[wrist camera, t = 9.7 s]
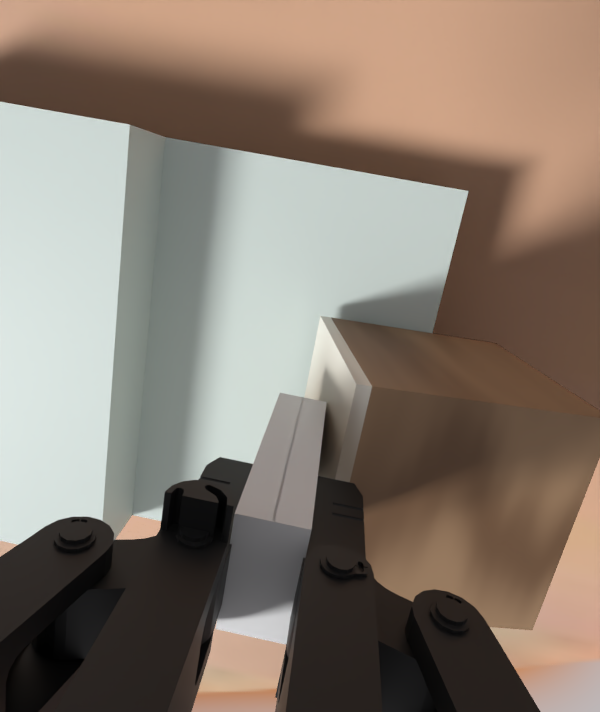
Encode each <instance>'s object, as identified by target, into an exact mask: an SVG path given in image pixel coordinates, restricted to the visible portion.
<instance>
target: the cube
mask: <svg viewBox="0 0 600 712" xmlns="http://www.w3.org/2000/svg"><path fill="white" fill-rule="evenodd" d="M304 398H309V399H314V400H319V401H324V402H326V411H325V419H324V428H323V436H322V445H321V453H320V462H319V470H318V476H321V477H326V478H331V479H335V480H340V481H345V482H350V483H354V484H355V485H356V487H357V488H358V490H359V491H360V493H361V494H362V495H363V511H364V531H365V553H366V560H367V561H368V562H369V563H370V565H371V567H372V570H373V573H374V578H375V579H376V580H377V582H378V583H380V584H381V585H382V586H384V587H385V588H386V589H388V590H390V591H391V592H393V593H395V594H397V595H399V596H401V597H403V598H406V599H408V600H410V601H412V602H413V601H414V598H415V596H416V595H418V594H419V593H421V592H422V591H426V590H433V589H436V590H441V591H447V592H450V593H452V594H455V595H457V596H459V597H461V598H463V599H465V600H466V601H467V602H469V603H470V604H471V605H473V606H474V607H475V608H476V609H477V610H478V612H479V613H480V614H481V615H482V616H483V618H484V619H485V621H486V622H487V624H488V626H489V627H498V628H511V629H525V630H533V627H534V624H535V622H536V619H537V617H538V614H539V612H540V609H541V606H542V604H543V601H544V599H545V596H546V594H547V591H548V588H549V586H550V583H551V581H552V578H553V576H554V573H555V571H556V568H557V565H558V563H559V560H560V558H561V555H562V553H563V550H564V547H565V545H566V542H567V540H568V537H569V535H570V532H571V529H572V527H573V524H574V522H575V519H576V517H577V514H578V512H579V509H580V506H581V504H582V501H583V499H584V496H585V494H586V491H587V488H588V486H589V483H590V481H591V478H592V476H593V473H594V471H595V468H596V465H597V463H598V460H599V458H600V410H598V409H597V408H595V407H593V406H592V405H590V404H589V403H587V402H586V401H584V400H583V399H581V398H580V397H578V396H577V395H575V394H573V393H572V392H570V391H569V390H567V389H566V388H564V387H563V386H561V385H560V384H558V383H556V382H555V381H553V380H552V379H550V378H549V377H547V376H546V375H544V374H543V373H541V372H539V371H538V370H536V369H535V368H533V367H532V366H530V365H529V364H527V363H526V362H524V361H523V360H521V359H519V358H518V357H516V356H515V355H513V354H512V353H510V352H509V351H507V350H506V349H504V348H502V347H501V346H499V345H498V344H496V343H492V342H485V341H479V340H472V339H466V338H460V337H453V336H447V335H440V334H434V333H428V332H421V331H415V330H408V329H402V328H396V327H389V326H383V325H376V324H370V323H363V322H357V321H351V320H344V319H338V318H331V317H325V316H320V320H319V325H318V330H317V335H316V340H315V345H314V350H313V355H312V361H311V366H310V371H309V376H308V381H307V386H306V391H305V396H304Z"/></svg>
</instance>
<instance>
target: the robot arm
mask: <svg viewBox="0 0 600 712" xmlns="http://www.w3.org/2000/svg"><path fill="white" fill-rule="evenodd" d="M325 411H326V402H324V401H319V400H314V399H309V398H304V397H299V396H294V395H289V394H284V393H280V394H279V396H278V399H277V402H276V404H275V407H274V410H273V412H272V415H271V418H270V420H269V423H268V426H267V428H266V431H265V434H264V436H263V439H262V442H261V444H260V447H259V450H258V452H257V455H256V458H255V460H254V463H253V464H251V463H246V462H242V461H237V460H232V459H227V458H222V457H219V458H217V459H216V460H214V461H212V462H211V463H209V464H207V465H206V467H205V469H204V470H203V472H202V474H201V476H200V478H199V480H189V481H182V482H179V483H177V484H174V485H172V486H171V487H170V488H168V489H167V490H166V491H165V494H164V503H163V511H162V520H161V528H160V531H159V532H158V534H157V536H154V537H150V538H146V539H135V540H114V532H113V530H112V529H111V527H110V525H108V524H106V523H105V522H103V521H102V520H100V519H96V518H91V517H69V518H64V519H60V520H57V521H55V522H53V523H51V524H49V525H47V526H45V527H44V528H42V529H41V530H39V531H38V532H36V533H35V534H33V535H32V536H30V537H29V538H28V539H26V540H25V541H23V542H22V543H20V544H19V545H17V546H16V547H14V548H13V549H11V550H10V551H8V552H7V553H5V554H4V555H3V556H1V557H0V712H191V711H192V708H193V705H194V701H195V698H196V695H197V692H198V689H199V685H200V682H201V679H202V676H203V673H204V669H205V666H206V663H207V660H208V656H209V653H210V649H211V643H212V637H213V631H214V628H215V624H216V621H217V624H216V629H218V630H223V631H227V632H232V633H236V634H241V635H245V636H250V637H254V638H259V639H263V640H268V641H272V642H277V643H281V644H286V650H285V655H284V660H283V664H282V669H281V674H280V678H279V683H278V687H277V692H276V698H277V704H276V711H275V712H540V710H539V709H538V707H537V705H536V704H535V702H534V700H533V699H532V697H531V696H530V694H529V692H528V690H527V689H526V687H525V686H524V684H523V682H522V681H521V679H520V678H519V675H518V674H517V672H516V670H515V669H514V667H513V665H512V664H511V662H510V660H509V659H508V657H507V656H506V654H505V652H504V651H503V649H502V647H501V646H500V644H499V642H498V641H497V639H496V637H495V636H494V634H493V632H492V631H491V629H490V627H489V626H488V624H487V622H486V621H485V619H484V618H483V616H482V615H481V614H480V613H479V612H478V610H477V609H476V608H475V607H474V606H473V605H471V604H470V603H469V602H467V601H466V600H465V599H463V598H461V597H459V596H457V595H455V594H452V593H450V592H447V591H441V590H436V589H433V590H426V591H422V592H421V593H419V594H418V595H416V596H415V598H414V601H413V602H412V601H410V600H408V599H406V598H403V597H401V596H399V595H397V594H395V593H393V592H391V591H390V590H388V589H386V588H385V587H384V586H382V585H381V584H380V583H378V582H377V580H376V579H375V578H374V573H373V570H372V567H371V565H370V563H369V562H368V561H367V560H366V553H365V531H364V511H363V495H362V494H361V493H360V491H359V490H358V488H357V487H356V485H355V484H354V483H350V482H345V481H340V480H335V479H331V478H326V477H321V476H318V470H319V462H320V453H321V445H322V436H323V428H324V419H325Z"/></svg>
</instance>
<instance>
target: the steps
mask: <svg viewBox="0 0 600 712" xmlns="http://www.w3.org/2000/svg"><path fill="white" fill-rule="evenodd" d="M467 195H468V191H466V190H460V189H454V188H449V187H443V186H437V185H432V184H426V183H421V182H415V181H409V180H404V179H398V178H392V177H387V176H381V175H376V174H370V173H364V172H359V171H353V170H347V169H342V168H336V167H330V166H325V165H319V164H314V163H308V162H302V161H297V160H291V159H285V158H280V157H274V156H269V155H263V154H257V153H252V152H246V151H240V150H235V149H229V148H223V147H218V146H212V145H207V144H201V143H195V142H190V141H184V140H178V139H173V138H167V137H164V136H161V135H158V134H155V133H152V132H149V131H147V130H144V129H141V128H138V127H135V126H132V125H129V124H124V123H118V122H112V121H107V120H101V119H95V118H90V117H84V116H78V115H73V114H67V113H61V112H56V111H50V110H44V109H39V108H33V107H28V106H22V105H16V104H11V103H5V102H0V541H4V542H9V543H14V544H20V543H22V542H23V541H25V540H26V539H28V538H29V537H30V536H32V535H33V534H35V533H36V532H38V531H39V530H41V529H42V528H44V527H45V526H47V525H49V524H51V523H53V522H55V521H57V520H60V519H64V518H69V517H91V518H96V519H100V520H102V521H103V522H105V523H106V524H108V525H110V527H111V529H112V530H113V532H114V540H115V539H116V537H117V536H118V535H119V533H120V532H121V530H122V529H123V527H124V526H125V525H126V523H127V522H128V520H129V519H130V517H131V516H132V515H135V516H140V517H144V518H149V519H154V520H159V521H161V520H162V511H163V503H164V494H165V491H166V490H167V489H168V488H170V487H171V486H172V485H174V484H177V483H179V482H182V481H189V480H199V478H200V476H201V474H202V472H203V470H204V469H205V467H206V465H207V464H209V463H211V462H212V461H214V460H216V459H217V458H219V457H222V458H227V459H232V460H237V461H242V462H246V463H251V464H253V463H254V460H255V458H256V455H257V452H258V450H259V447H260V444H261V442H262V439H263V436H264V434H265V431H266V428H267V426H268V423H269V420H270V418H271V415H272V412H273V410H274V407H275V404H276V402H277V399H278V396H279V394H280V393H284V394H289V395H294V396H299V397H304V396H305V391H306V386H307V381H308V376H309V371H310V366H311V361H312V355H313V350H314V345H315V340H316V335H317V330H318V325H319V320H320V316H325V317H331V318H338V319H344V320H351V321H357V322H363V323H370V324H376V325H383V326H389V327H396V328H402V329H408V330H415V331H421V332H428V333H432V332H433V329H434V325H435V321H436V317H437V313H438V309H439V305H440V301H441V297H442V293H443V289H444V285H445V282H446V278H447V274H448V270H449V266H450V262H451V258H452V254H453V250H454V246H455V242H456V238H457V235H458V231H459V227H460V223H461V219H462V215H463V211H464V207H465V203H466V199H467Z"/></svg>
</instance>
